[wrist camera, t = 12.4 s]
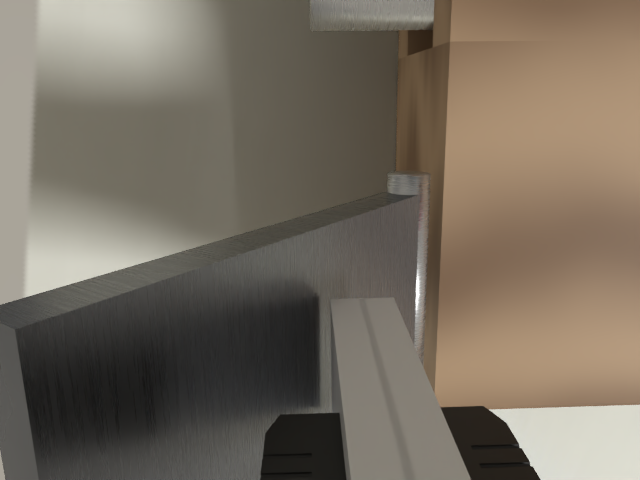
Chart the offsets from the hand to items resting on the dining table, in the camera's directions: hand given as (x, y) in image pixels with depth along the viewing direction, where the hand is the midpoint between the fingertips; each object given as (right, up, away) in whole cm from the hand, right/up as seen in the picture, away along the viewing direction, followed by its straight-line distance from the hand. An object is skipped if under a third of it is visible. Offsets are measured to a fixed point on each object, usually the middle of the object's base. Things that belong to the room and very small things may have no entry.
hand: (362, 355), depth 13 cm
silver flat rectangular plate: (+2, +1, +4) cm, 5 cm away
